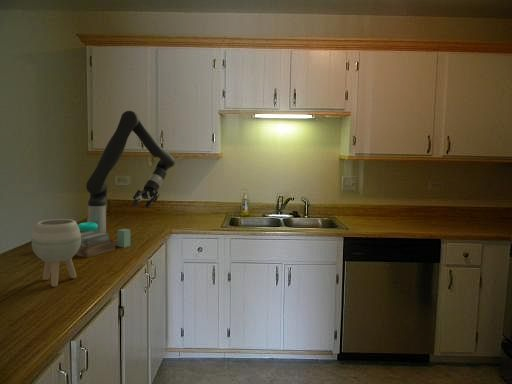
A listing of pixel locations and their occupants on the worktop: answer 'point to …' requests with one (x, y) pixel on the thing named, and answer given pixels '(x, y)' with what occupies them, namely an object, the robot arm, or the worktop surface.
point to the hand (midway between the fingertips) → (139, 206)
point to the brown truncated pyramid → (94, 244)
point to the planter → (56, 246)
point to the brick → (123, 237)
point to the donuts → (87, 226)
